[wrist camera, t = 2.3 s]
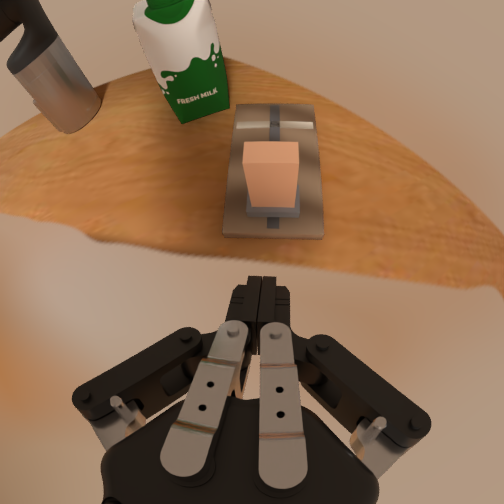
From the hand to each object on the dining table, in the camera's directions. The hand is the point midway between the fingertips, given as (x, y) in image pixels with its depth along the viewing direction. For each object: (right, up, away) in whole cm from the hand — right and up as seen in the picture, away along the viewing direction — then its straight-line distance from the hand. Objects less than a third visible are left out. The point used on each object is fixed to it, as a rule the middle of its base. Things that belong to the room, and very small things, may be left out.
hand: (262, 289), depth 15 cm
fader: (+2, +7, +12) cm, 14 cm away
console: (+2, +12, +16) cm, 20 cm away
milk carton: (-8, +24, +20) cm, 32 cm away
